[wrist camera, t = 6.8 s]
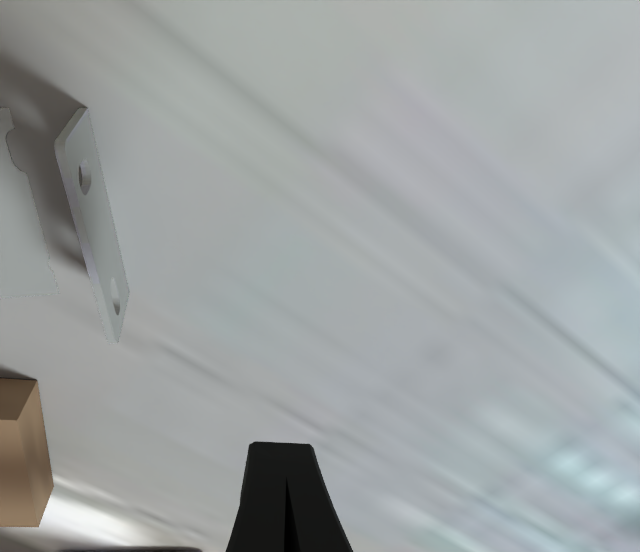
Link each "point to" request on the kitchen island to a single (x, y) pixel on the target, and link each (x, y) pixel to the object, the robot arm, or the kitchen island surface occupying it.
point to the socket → (22, 455)
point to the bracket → (89, 218)
